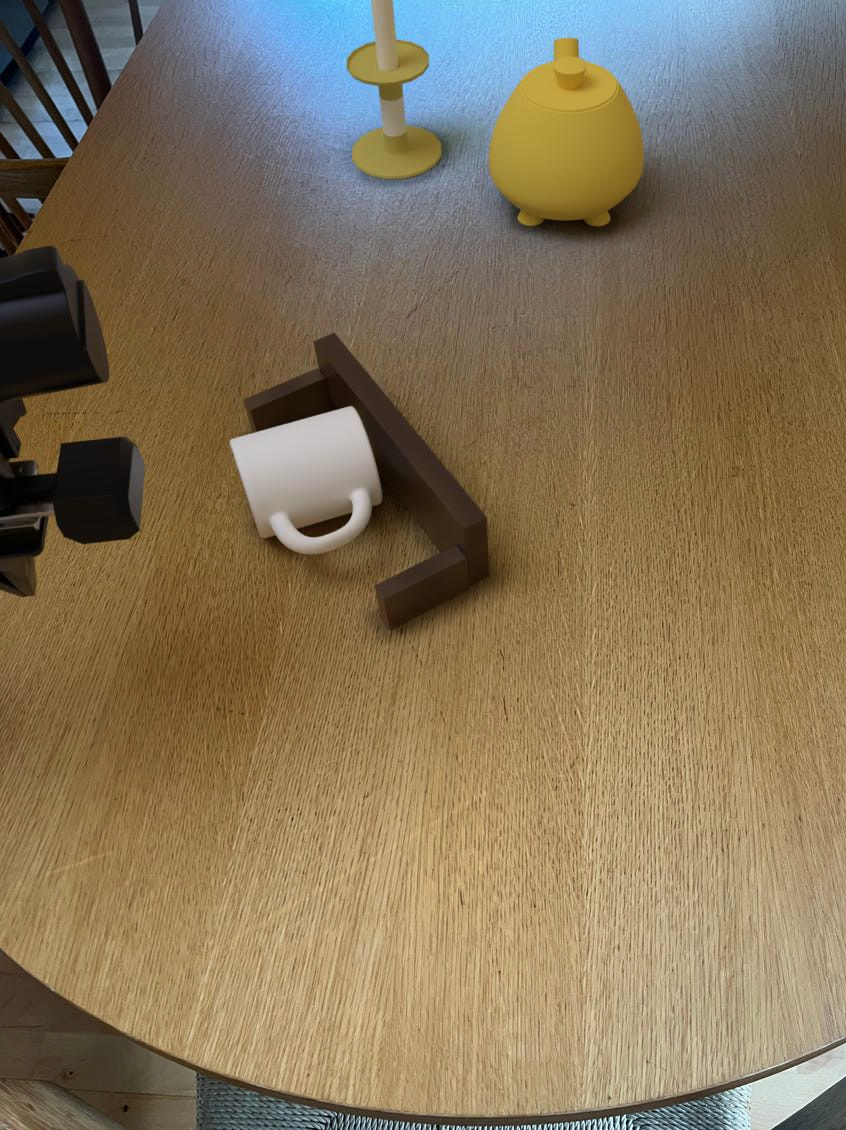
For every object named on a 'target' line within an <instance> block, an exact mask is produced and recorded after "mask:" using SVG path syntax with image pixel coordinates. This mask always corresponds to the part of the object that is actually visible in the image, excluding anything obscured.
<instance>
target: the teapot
mask: <svg viewBox="0 0 846 1130" xmlns="http://www.w3.org/2000/svg"><path fill="white" fill-rule="evenodd" d="M644 159H645V151H644V140H643V136H642V130H641V126H640V123H639V119H638V116H637V114H636V112H635V110H634V108H633V105H632V103H631V101H630V99H629V97H628V96H627V94H626V92H625V90H624V88H623V86H622V85H621V83H620V82H619V81H618V79H617V78H616V76H615V75H614V74H613V73H612V72H610V71H609V70H608V69H607V68H605V67H603V66H601V65H599V64H596V63H594V62H591V61H590V62H589V61H586V60H584V59H583V58H581V57H580V45H579V39H578V38H575V37H561V38H557V39H555V40H553V61H549V62H545V63H542V64H540V65H537V66H536V67H534V68H532V69H531V70H530V71H528V72H526V74H525V75H524V76H523V77H522V78H521V79H520V81H519V82H518V84H516V85H515V88H514V90H513V91H512V93H511V94H510V96H509V97H508V98H507V100H506V102H505V104H504V105H503V107H502V110H501V111H500V113H499V115H498V117H497V120H496V122H495V125H494V128H493V132H492V135H491V139H490V145H489V149H488V171H489V176H490V178H491V180H492V182H493V184H494V186H495V188H496V189H497V190H498V191H499V192H500V193H501V194H502V195H503V197H505V198H506V200H508V201H509V202H510V203H511V204H512V205H514V207H516V208H517V209H519V210H520V211H519V213H518V215H517V221H518V222H519V223H520V224H522V225H524V226H527V227H530V226H531V227H535V226H539V225H541V224H542V223H543V222H544V221H545V220H553V221H578V220H583V221H584V223H586V224H587V225H589V226H593V227H602V226H605V225H608V224H609V223H610V221H611V215H610V213H609V211H610V210H611V209H613V208H614V207H615V206H617V205H618V204H619V203H621V202H622V201H623V200H625V198H626V197H627V196H628V195H630V193H632V191H633V190H634V189H635V188H636V187H637V185H638V183H639V181H640V179H641V177H642V174H643V171H644V162H645V161H644Z"/></svg>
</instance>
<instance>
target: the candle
mask: <svg viewBox="0 0 846 1130" xmlns="http://www.w3.org/2000/svg"><path fill="white" fill-rule="evenodd" d="M370 5H371V15H372V25H373V33H374V41H371V42H368V43H364V44H363V45H360V46H359V47H357V48H355V49H353V50H352V52H351V53H350V54H349V55H348V56H347V58H346V71H347V72H348V73H349V74H350V76H351V77H352V78H353V79H355V80H356V81H358V82H360V83H362V84H365V85H371V86H375V87H378V96H379V105H380V106H379V107H380V115H381V123H382V127H378V128H375V129H372V130H370V131H369V132H367V133H365V134H363V135H361V136H360V137H359V138H358V139H357V141H356V142H355V143H354V145H353V146H352V148H351V161H352V162H353V164H354V165H355V167H356V169H357V170H359V171H361V172H363V173H364V174H366V175H368V176H370V177H373V178H378V179H383V180H404V179H405V180H406V179H409V178H410V179H411V178H413V177H417V176H420V175H423V174H424V173H426V172H428V171H429V170H431V169H432V168H434V167H436V165H437V164H438V163H439V161H440V160H441V158H442V156H443V149H442V147H443V144H442V142H441V141H440V140H439V139H438V137H437V136H436V134H435V133H432V132H431V131H428V129H427V130H426V129H425V128H423V127H419V126H415V125H408V124H407V123H406V121H407V120H406V112H405V100H404V90H403V85H404V84H406V83H411V82H413V81H415V80H417V79H418V78H419V77H422V76H423V75H424V74H425V72H426V71H427V70H428V69H429V67H430V54H429V52H428V51H426V49H425V48H424V47H423V46H421V45H419V44H417V43H415V42H412V41H411V40H403V39H398V38H397V31H396V21H395V19H396V18H395V9H394V0H370Z"/></svg>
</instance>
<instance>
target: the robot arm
mask: <svg viewBox="0 0 846 1130" xmlns="http://www.w3.org/2000/svg"><path fill="white" fill-rule="evenodd" d="M102 329H103V328H102V325H101V322H100V318H99V316H98V312H97V310H96V306H95V304H94V301H93V298H92V295H91V293H90V290H89V288H88V285H87V283H86V281H85V280H84V279H80V278H79V276H78V275H77V272H76V271H75V269H74V268H73V267H72V266H71V265H70V264H69V263H65V264H64V262H63V260H62V257H61V255H60V252H59V251H58V248H57V247H55V246H53V245H46V246H40V247H33V248H29V249H24V250H23V251H20V252H18V253H16V254H13V255H9V256H5V257H0V591H2V592H5V593H8V594H11V595H14V596H16V597H19V598H27V597H35V596H36V592H37V587H38V580H37V569H36V559H35V558H37V557H38V556H40V555H41V554H42V553H43V551H44V549H45V543H46V538H47V537H46V536H47V531H48V523H49V517H52V516H54V517H55V523H56V526H57V528H58V529H59V531H60V533H61V535H62V536H63V538H65V539H68V540H70V541H74V542H76V543H79V544H81V545H91V544H99V543H107V542H109V543H110V542H117V541H118V542H119V541H125V540H130V539H131V538H132V537H133V536H135V535H136V534H138V533H139V532H140V531H141V520H142V511H143V510H142V509H143V508H142V507H143V497H144V486H145V485H144V484H145V474H146V463H145V460H144V459H143V456H142V454H141V451H140V449H139V447H138V445H137V444H136V443H135V442H133V441H132V440H131V439H130V438H129V437H128V436H116V437H105V438H96V439H88V440H87V439H86V440H78V441H68V442H61V443H60V447H59V452H58V453H59V454H58V461H57V467H56V472H49V473H39V464H38V462H37V461H36V460H35V459H28V460H19V461H18V460H17V461H11V459H19V457H20V452H21V447H22V441H21V439H20V438H19V435H18V433H16V430H15V429H14V428H15V426H17V423H18V422H19V421H20V419H21V418H23V417H25V416H26V414H27V412H28V411H27V408H26V405H25V402H24V399H27V398H32V397H38V396H43V395H48V394H54V393H60V392H64V391H71V390H74V389H80V388H84V387H91V386H95V385H100V384H101V385H102V384H107V383H108V382H109V380H110V363H109V357H108V351H107V345H106V341H105V338H104V337H105V336H104V334H103V330H102Z"/></svg>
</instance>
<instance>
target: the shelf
mask: <svg viewBox="0 0 846 1130" xmlns="http://www.w3.org/2000/svg"><path fill="white" fill-rule="evenodd" d="M313 346H314V353H315V357H316V362H317V366H318V367H317V368H314V369H312V370H309V371H307V372H304V373H302V374H300V375H298V376H295V377H293V378H290V379H288V380H286V381H284V382H281V383H278V384H277V385H274V386H272V387H269V388H267V389H264V390H262V391H260V392H258V393H255V394H253V395H251V396H248V397H246V398H244V399H242V401H243V405H244V407H245V412H246V414H247V418H248V422H249V424H250V428H251V431H252V433H255V432H259V431H262V430H266V429H270V428H273V427H277V426H280V425H284V424H288V423H291V422H295V421H298V420H302V419H306V418H309V417H313V416H317V415H320V414H324V413H327V412H331V411H335V410H338V409H342V408H345V407H349V406H352V407H354V408H355V409H356V411H357V413H358V414H359V416H360V419H361V421H362V423H363V426H364V428H365V431H366V434H367V436H368V439H369V442H370V445H371V449H372V452H373V455H374V459H375V462H376V466H377V470H378V474H379V475H380V476H381V477H382V478H383V480H384V482H386V484H387V485H388V486H389V487H390V489H391V490H392V492H393V493H394V494H395V495H396V497H397V498H398V500H400V502H401V503H402V504H403V506H404V508H405V509H406V510H407V511H408V512H409V513H410V514H411V516H412V518H413V519H414V520H415V521H416V522H417V524H418V525H419V527H420V528H421V529H422V530H423V531H424V533H425V534H426V536H427V537H428V538H429V539H430V540H431V542H432V543H433V545H434V546H435V547H436V548H437V550H438V551H439V553H436V554H435V555H432V556H431V557H429V558H427V559H425V560H423V561H421V562H418V563H417V564H415V565H413V566H411V567H409V568H407V569H405V570H403V571H401V572H399V573H397V574H395V575H393V576H390V577H389V578H387V579H385V580H383V581H381V582H379V583H377V584H375V585H374V590H375V595H376V601H377V605H378V610H379V616H380V619H381V620H382V622H383V623H384V624H385V625H386V627H387V628H388V630H389V631H391V630H392V629H395V628H397V627H398V626H401V625H402V624H404V623H406V622H408V621H410V620H412V619H414V618H416V617H418V616H420V615H421V614H424V613H425V612H427V611H429V610H431V609H433V608H435V607H437V606H439V605H441V604H443V603H445V602H447V601H449V600H451V599H453V598H455V597H457V596H458V595H461V594H463V593H464V592H466V591H469V588H470V587H471V586H472V585H475V584H476V583H478V582H480V581H482V580H484V579H486V578H488V577H490V566H489V562H490V561H489V537H488V536H489V535H488V533H489V531H488V530H489V529H488V517H487V515H486V514H485V513H484V511H482V509H481V508H480V507H479V506H478V504H477V503H476V502H475V501H474V499H473V498H472V497H471V495H469V494H468V493H467V491H466V490H465V489H464V488H463V486H462V485H461V484H460V483H459V481H458V480H457V478H455V476H453V474H452V472H450V470H449V469H448V468H447V467H446V465H444V463H443V462H442V461H441V460H440V458H439V457H438V456H437V454H435V453H434V451H433V450H432V449H431V447H430V446H429V445H428V444H427V443H426V441H425V440H424V439H423V438H422V437H421V435H420V434H419V433H418V432H417V430H416V429H415V428H414V427H413V426H412V425H411V423H410V422H409V421H408V420H407V419H406V417H405V416H404V415H403V414H402V413H401V411H400V410H399V409H398V407H397V406H396V405H395V404H394V402H393V401H392V400H391V399H390V398H389V397H388V395H387V394H386V393H385V392H384V391H383V389H382V388H381V387H380V386H379V385H378V383H377V382H376V381H375V380H374V378H373V377H372V376H371V375H370V374H369V372H368V371H367V370H366V369H365V368H364V366H363V365H362V364H361V363H360V362H359V360H358V359H357V357H356V356H354V354H353V353H352V352H351V351H350V350H349V348H348V347H347V345H346V344H345V343H344V342H343V341H342V340H341V338H340V337H339V336H338V334H336V333H335V332H332V333H330V334H327V335H325V336H322V337H320V338H318V339H315V340H313Z"/></svg>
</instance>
